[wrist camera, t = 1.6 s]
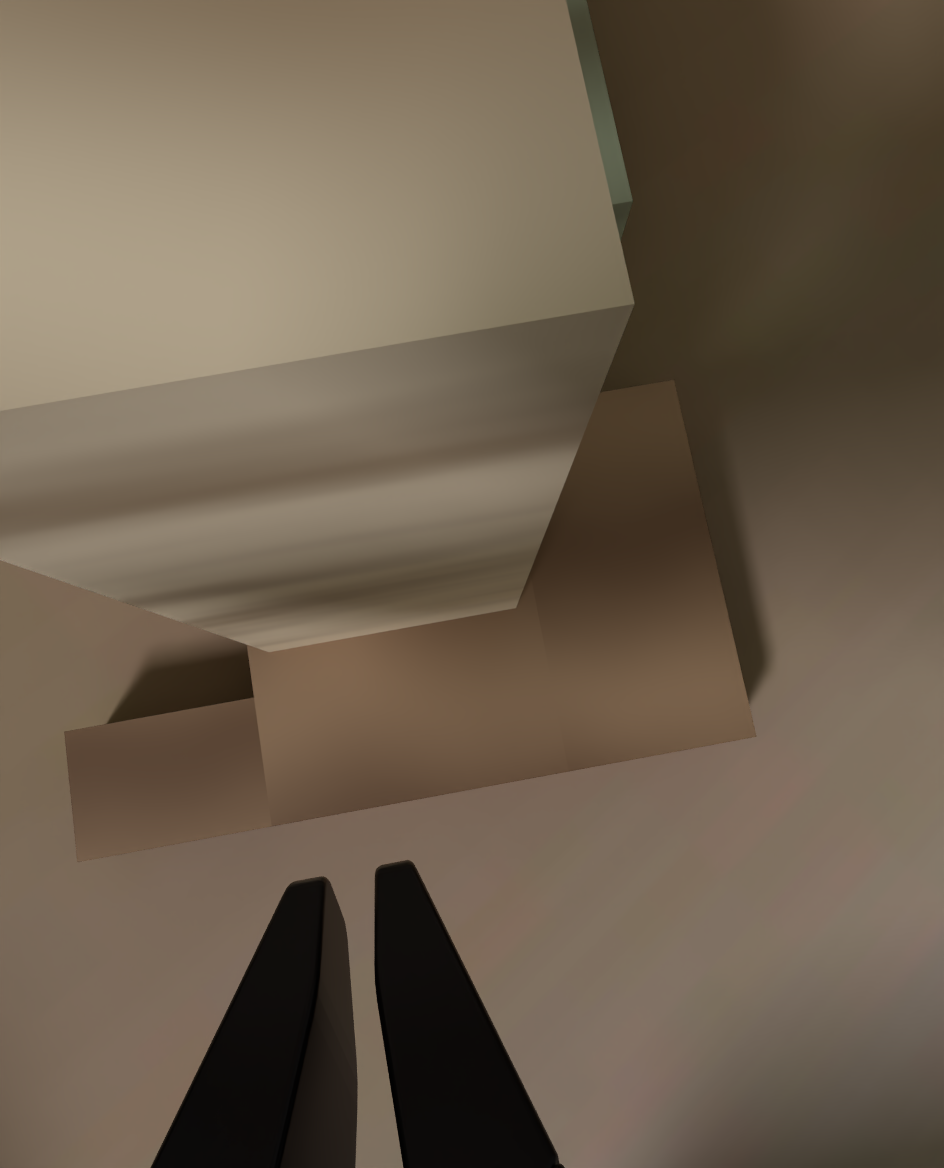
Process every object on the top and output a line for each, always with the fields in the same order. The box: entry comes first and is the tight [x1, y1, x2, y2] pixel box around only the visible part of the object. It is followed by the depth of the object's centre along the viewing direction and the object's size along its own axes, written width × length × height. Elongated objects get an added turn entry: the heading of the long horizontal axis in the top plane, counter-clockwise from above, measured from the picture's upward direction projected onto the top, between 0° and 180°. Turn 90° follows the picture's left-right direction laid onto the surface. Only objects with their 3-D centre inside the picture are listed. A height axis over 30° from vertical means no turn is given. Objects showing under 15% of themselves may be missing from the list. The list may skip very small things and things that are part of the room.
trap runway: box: [64, 0, 756, 862], centre depth 21 cm, size 24×16×5 cm, turn 10°
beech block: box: [0, 0, 635, 652], centre depth 13 cm, size 8×6×15 cm
